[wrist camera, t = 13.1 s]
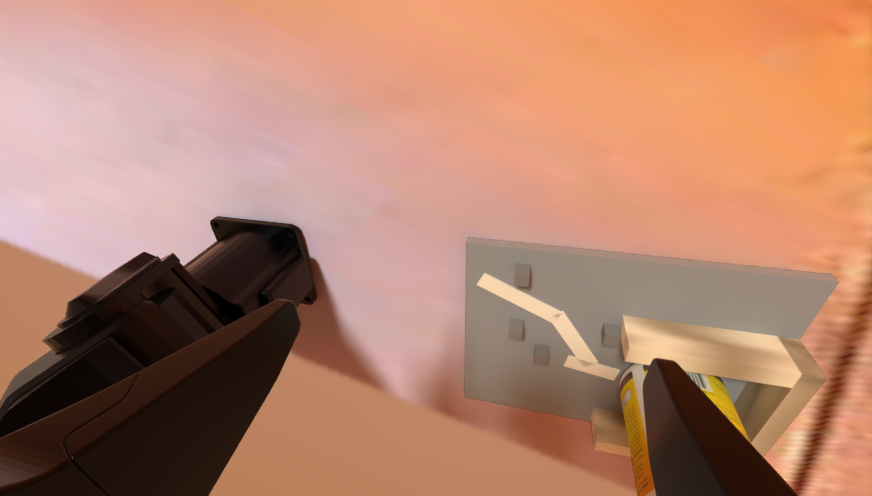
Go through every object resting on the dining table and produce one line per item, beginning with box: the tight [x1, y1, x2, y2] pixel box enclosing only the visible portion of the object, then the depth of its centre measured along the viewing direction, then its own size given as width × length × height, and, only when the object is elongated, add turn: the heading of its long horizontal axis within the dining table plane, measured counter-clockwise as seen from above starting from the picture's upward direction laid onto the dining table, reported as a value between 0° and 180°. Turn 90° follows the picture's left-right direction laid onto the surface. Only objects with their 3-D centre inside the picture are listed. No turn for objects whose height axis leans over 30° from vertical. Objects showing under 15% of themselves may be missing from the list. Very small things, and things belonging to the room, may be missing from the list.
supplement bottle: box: [619, 363, 751, 496], centre depth 19 cm, size 6×6×10 cm
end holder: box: [591, 315, 828, 457], centre depth 22 cm, size 8×10×2 cm
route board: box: [464, 237, 839, 422], centre depth 23 cm, size 18×14×2 cm
